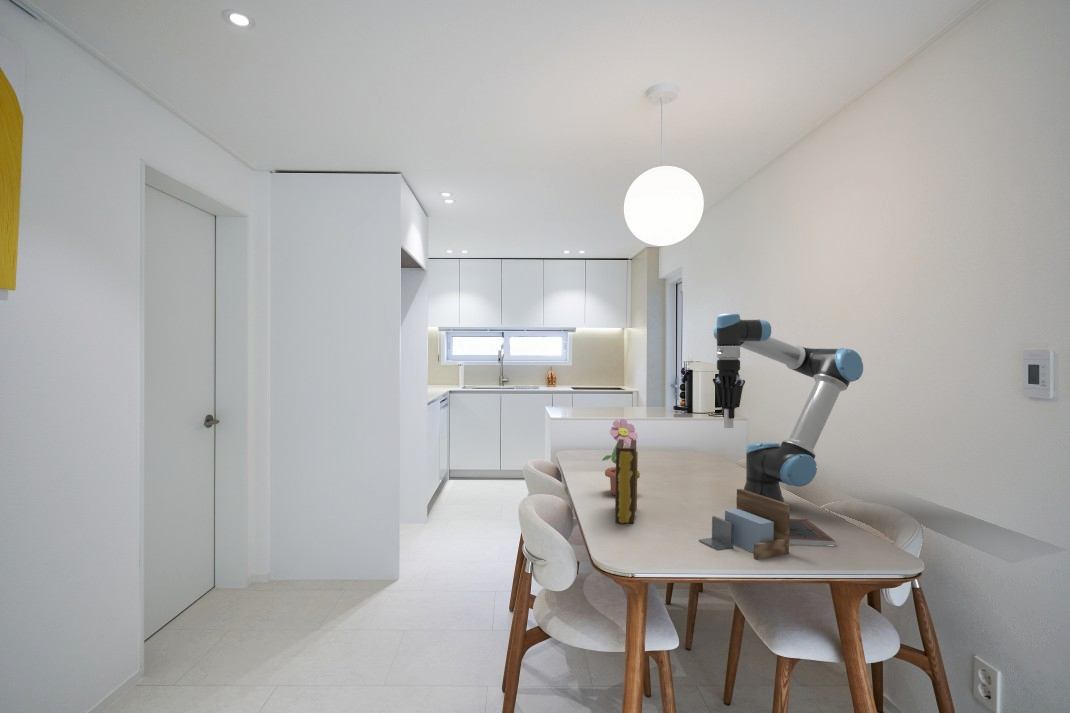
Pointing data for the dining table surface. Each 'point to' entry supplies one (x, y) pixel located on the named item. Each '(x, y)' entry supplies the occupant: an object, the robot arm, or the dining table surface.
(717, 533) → the bookend
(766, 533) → the boxed book
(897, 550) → the dining table surface
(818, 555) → the dining table surface
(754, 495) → the shelf
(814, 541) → the picture frame
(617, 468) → the book
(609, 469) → the decorative flower
